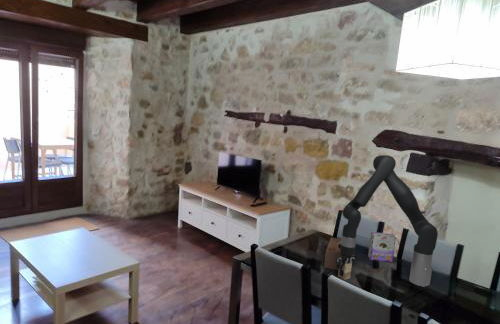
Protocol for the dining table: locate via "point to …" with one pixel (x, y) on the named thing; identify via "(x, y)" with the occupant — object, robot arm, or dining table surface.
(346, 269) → the oak block
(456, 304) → the dining table surface
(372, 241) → the candy box
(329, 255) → the tissue box cover
